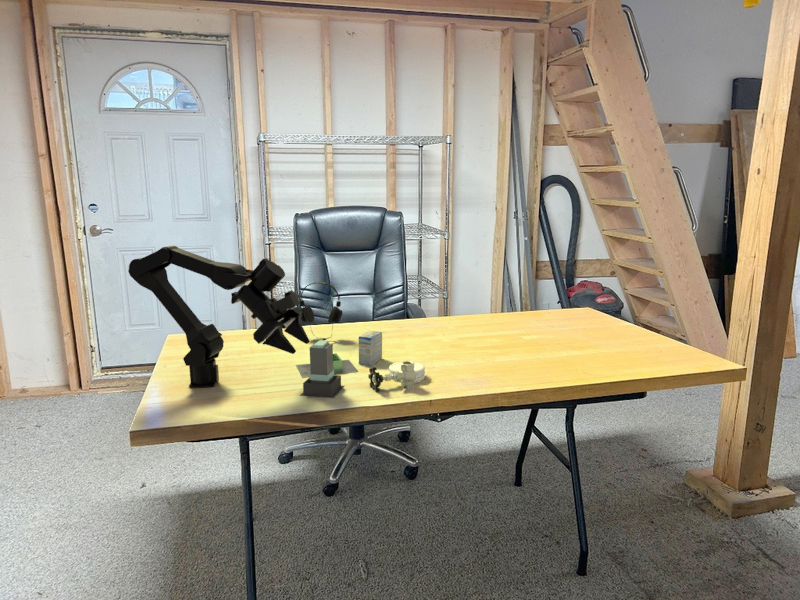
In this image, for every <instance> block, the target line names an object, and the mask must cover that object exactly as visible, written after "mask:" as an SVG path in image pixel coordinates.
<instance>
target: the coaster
mask: <svg viewBox="0 0 800 600" xmlns="http://www.w3.org/2000/svg"><path fill="white" fill-rule="evenodd" d="M402 362H403V361H397V362H394V363H391V364H390V365H389V367H388V374H391V375H392V374H393V372H394V371H399V372H400V371H401V363H402ZM413 362H414V370H415V374H416V376H415V379H414V384H416V383H420V382H422V381H424V380H425V378H426V376H425V374H426V366H424V365H423V364H422V363H420V362H417V361H413ZM401 381H402V380H400V382H401Z"/></svg>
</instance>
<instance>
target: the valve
mask: <svg viewBox="0 0 800 600" xmlns="http://www.w3.org/2000/svg"><path fill="white" fill-rule="evenodd" d="M401 362H402V363H401V371H400V372H399V371H394V372H393V374H392V375H391V374H389V373H386V374H384V376H383V375H382V374H380V372H376V371H378V370H377V367H376V366H373V367H370V368H369V369H368V370H369V374H367V375H368V376H367V377H368V379H370V380H369V381H370V382H369V387H371V389H372V391H375V393H376V392H380V390H381V389H380V387H381V384H382V383H383V382H384V381H385V382H390V381H393V382H394V383H400V385H401V386H403V389H407V390H408V389H413V388H414V387H415V383H414V379H415V376H416V374H415V370H414V362H415V361H411V360H403V361H401ZM400 380H402V381H400Z"/></svg>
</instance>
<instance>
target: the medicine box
mask: <svg viewBox="0 0 800 600" xmlns="http://www.w3.org/2000/svg"><path fill="white" fill-rule="evenodd" d="M382 358H383V332H382V331H378V330H368V331H365V332H364V333H362V334H361V335H359V336H358V364H359V365H363V366H371V367H372V366H373V365H374V364H376V363H377V362H378V361H380V360H381V359H382Z"/></svg>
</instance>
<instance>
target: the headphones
mask: <svg viewBox="0 0 800 600" xmlns="http://www.w3.org/2000/svg"><path fill="white" fill-rule="evenodd" d="M315 284H321V285H326V286H328V287H330V288H332V289H333V291H334V292H335V293H336V296H337V301H336V304H335V306H333V307H332V309H331V310H330V313H329V315H328V320H327V321H328V323H329V324H334V323H335V324H338V323H339V322H341V319H342V316H343V314H344V313H343V312H344V311H343V310H341V309H340V307H341V305H342V304H341V303H342V302H341V301H340V299H341V294H339V292H338V291H337V290H336V288H335V286H333V285H332V284H330V283H328V282H324V281H322V282H321V281H317V282H311V283H309V284H307V285H306V286H304V288H303V289H302V291H301V293H300V298H299V299H300V300H299V302H300V304H299V306H302V308H299V309H300V310H301V311H302V313H301V314H302V317H301V322H303V323H306V322H308V324H309V326H310V328H312V327H311V326H312V325H310V323H313V322H314V321H315V314H314V311H313V309H312V307H311V306H310V305H307V304H306V305H305V300H303V293H304V292H305V290H306V289H307V287H308V286H311V285H315ZM301 314H300V315H301ZM331 326H332V328H331V330H333V329H334V325H331ZM311 333H312V335H313V336H314V337H315V338H317V339H318V337H317V336H315V334H314V333H313V331H312V329H311ZM332 336H333V333H331V335H330V337H332ZM327 339H328V337H326V338H324V337H322V338H321V340H324V341H326V340H327ZM328 341H329V342H331V340H328ZM332 342H334V343H331V344H333V345H334V344H337V343H338V342H337V341H335V340H334V341H333V340H332Z"/></svg>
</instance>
